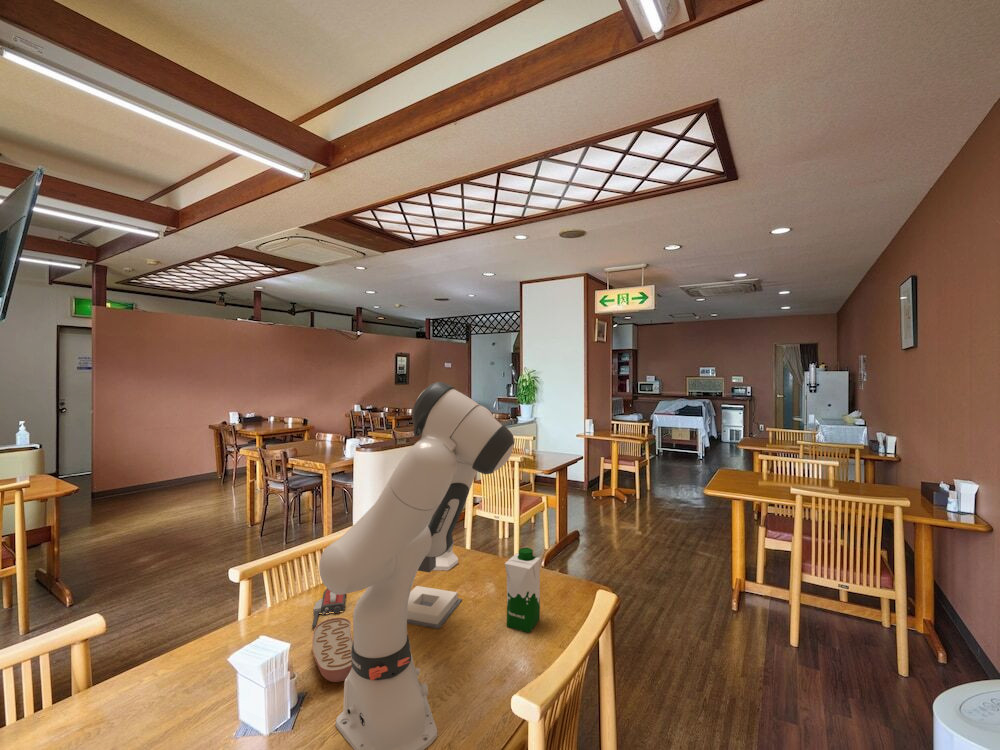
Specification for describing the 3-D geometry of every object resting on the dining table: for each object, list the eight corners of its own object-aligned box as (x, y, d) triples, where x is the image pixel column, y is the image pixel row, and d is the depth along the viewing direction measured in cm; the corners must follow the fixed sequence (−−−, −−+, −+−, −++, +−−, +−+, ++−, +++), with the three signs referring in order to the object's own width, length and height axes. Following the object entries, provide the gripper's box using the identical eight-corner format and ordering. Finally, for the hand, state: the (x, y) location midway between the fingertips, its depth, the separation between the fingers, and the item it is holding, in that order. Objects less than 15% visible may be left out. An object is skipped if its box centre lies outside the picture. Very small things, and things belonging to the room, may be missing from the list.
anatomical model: (363, 683, 106) (362, 662, 106) (316, 698, 101) (316, 675, 101) (348, 632, 126) (348, 614, 126) (309, 642, 122) (309, 623, 122)
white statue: (465, 562, 174) (471, 529, 170) (440, 581, 161) (446, 546, 158) (440, 547, 180) (445, 515, 176) (414, 565, 167) (419, 530, 164)
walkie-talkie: (318, 597, 146) (309, 632, 127) (317, 583, 146) (309, 616, 127) (347, 593, 148) (343, 627, 129) (347, 579, 148) (343, 611, 129)
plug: (435, 566, 138) (435, 533, 138) (429, 572, 134) (429, 538, 134) (423, 564, 139) (423, 532, 139) (417, 570, 136) (417, 536, 135)
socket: (461, 600, 142) (461, 591, 142) (439, 629, 127) (439, 618, 127) (415, 593, 147) (415, 583, 147) (388, 619, 132) (388, 609, 132)
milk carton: (543, 619, 132) (543, 550, 131) (530, 636, 124) (530, 562, 123) (516, 612, 136) (515, 544, 135) (501, 627, 128) (501, 556, 127)
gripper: (448, 522, 127) (462, 544, 136) (383, 514, 133) (401, 536, 143) (441, 544, 122) (456, 565, 132) (375, 535, 129) (394, 556, 139)
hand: (427, 550), depth 137 cm, fingers closed on plug, 4 cm apart
